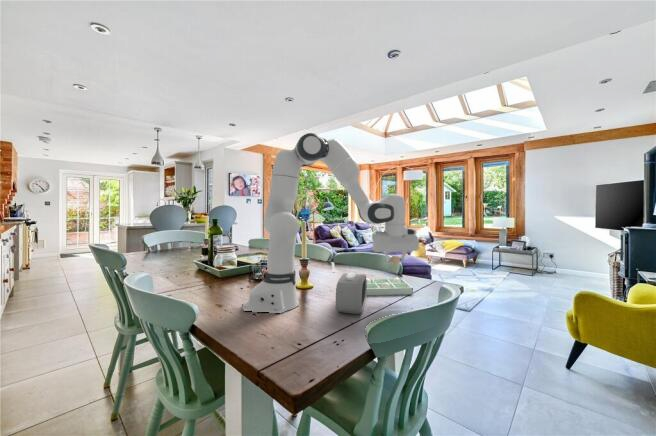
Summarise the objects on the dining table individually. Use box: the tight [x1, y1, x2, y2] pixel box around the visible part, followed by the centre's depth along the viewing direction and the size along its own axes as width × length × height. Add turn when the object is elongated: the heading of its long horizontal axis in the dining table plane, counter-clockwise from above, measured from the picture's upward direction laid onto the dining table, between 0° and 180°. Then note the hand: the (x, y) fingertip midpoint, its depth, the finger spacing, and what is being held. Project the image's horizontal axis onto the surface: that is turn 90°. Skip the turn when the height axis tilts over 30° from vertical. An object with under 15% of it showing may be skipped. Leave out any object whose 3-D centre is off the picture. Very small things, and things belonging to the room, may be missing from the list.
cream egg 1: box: [381, 282, 391, 288], centre depth 128 cm, size 4×4×4 cm
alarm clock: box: [335, 272, 368, 315], centre depth 111 cm, size 21×10×13 cm, turn 166°
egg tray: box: [366, 278, 414, 296], centre depth 132 cm, size 23×16×4 cm
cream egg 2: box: [392, 277, 401, 283], centre depth 136 cm, size 4×4×4 cm
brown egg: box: [390, 254, 401, 266], centre depth 123 cm, size 4×4×4 cm
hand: (395, 261), depth 123 cm, fingers closed on brown egg, 4 cm apart
